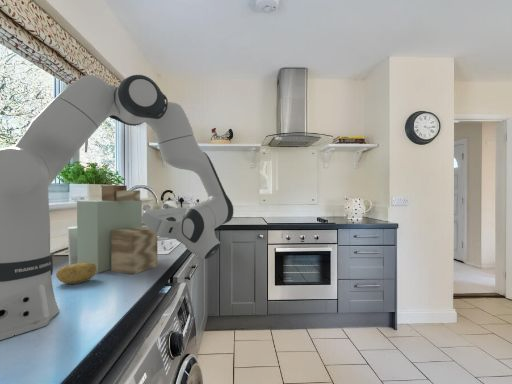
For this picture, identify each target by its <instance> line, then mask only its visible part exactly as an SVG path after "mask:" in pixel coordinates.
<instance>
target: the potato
mask: <svg viewBox="0 0 512 384" xmlns="http://www.w3.org/2000/svg"><path fill="white" fill-rule="evenodd" d="M96 274H97V273H96V266H95V264H93V263H76V264H72V265H69V264H68V265H64V266H62V267H61V268H59V269H58V270H57V271H56V278H57V279H58V280H59V281H60V282H61V283H63V284H69V285H70V284H71V285H72V284H79V283H82V282H86V281H89V280H91V279H92V278H93V277H94V276H95V275H96Z"/></svg>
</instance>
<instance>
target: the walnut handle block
mask: <svg viewBox="0 0 512 384" xmlns="http://www.w3.org/2000/svg"><path fill="white" fill-rule="evenodd" d="M127 188H128V186H127V185H101V200H102V201H140V200H141V190H139V189H138V190H135V189H134V190H133V189H131V190H130V189H129V190H128V189H127Z"/></svg>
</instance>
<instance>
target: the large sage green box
mask: <svg viewBox="0 0 512 384" xmlns="http://www.w3.org/2000/svg"><path fill="white" fill-rule="evenodd" d="M142 202H143V201H142V199H140V201H102V199H101V200H78V201H76V226H77V263H93V264H95V266H96V274H99V273H104V272H106V271H110V270H111V231H112V230H120V229H127V228H134V227H143V226H142V225H143V224H142V223H143V222H142V221H141V217H142V215H143V213H142V211H143V207H142V206H143V205H142Z"/></svg>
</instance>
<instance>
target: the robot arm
mask: <svg viewBox="0 0 512 384" xmlns="http://www.w3.org/2000/svg"><path fill="white" fill-rule="evenodd" d="M108 118H111V119H112V120H115V121H117V122H120V123H122V124H123V125H127V126H139V125H142V124H143V123H145V124H147V126H149V127H150V129H152V131H153V134H154V136H155V139H156V142H157V145H158V148H159V151H160V154H161V157H162V159H163V160H164V162H165V163H166V164H168V165H169V166H171V167H172V168H176V169H179V170H186V171H191V172H193V173H195V174H196V175H197V176H198V177H199V178H200V181H201V183H202V185H203V187H204V189H205V192H206V194H207V199H206V200H205V201H202V202H200V203H197V204H195V205H193V206H191V207H189V208H186V207H175V206H173V205H170V204H168V203H163V205H162V208H161V209H160V208H159V209H151V206H150V205H148V204H144V205H142V206H143V207H142V211H143V213H142V217H141V221H142V223H143V225H145V226H146V228H150V229H151V230H152V231H154V232H157V237H159V238H161V239H172V240H176V241H177V242H179V243H181V244H183V245H184V247H185V248H186V249H187V250H188V251H190V252H191V254H194V255H195V256H197V257H198V258H200V259H203V260H208V259H210V258H211V257H212V256H214V255H215V254H216V253H217V251H219V250H220V247H221V242H220V240H219V239H218V238H217V236H216V233H215V229H217V228H218V227H220V226H222V225H224V224H227V223H229V222H231V220H232V219H233V217H234V205H233V202H232V201H231V200H230V198H229V196H228V195H227V194H226V190H225V188H224V186H223V185H222V183H221V180H220V178H219V176H218V173H217V171H216V169H215V166H214V164H213V162H212V160H211V158H210V156H209V154H207V153H206V152H205V151H203V150H202V149H201V147H200V146H199V144H198V142H197V140H196V138H195V135H194V131H193V128H192V125H191V123H190V122H189V118H188V117H187V114H186V113H185V109H184V108H183V107H182V106H181V104H178V103H176V102H172V101H168V98H167V96H166V95H165V94H164V93H163V91H161V88H160V87H159V86H158V84H157V83H156V82H155V81H154V80H153V79H152V78H150V77H148V76H146V75H143V74H132V75H130V76H128V77H126V78H124V79H123V80H122V81H121V82H120V83H119V85H118V86H115V85H111V84H109V83H107V81H105V80H104V79H102V78H100V77H98V76H96V75H93V74H86V75H83V76H81V77H80V78H78V79H77V80H75V81H74V82H72V83H70V84H69V85H68V86H67V87H65V88H64V89H63V90H62V91H61V92H60V93H59V94H57V95H56V97H55V98H54V99H52V101H51V102H49V103H48V104H47V105H46V106H45V107H44V109H42V111H40V112H39V114H38V115H37V116H36V117H35V118H34V119H32V121H31V122H30V124H29V126H28V127H27V129H26V130H25V132H24V133H23V134H22V135H21V137H20V138H19V140H18V141H17V142H16V144H15V145H14V146H9V147H3V148H0V341H2V340H4V339H5V340H6V339H9V338H12V337H15V336H18V335H21V334H24V333H27V332H30V331H34V330H37V329H41V328H43V327H47V326H48V325H49V324H50V322H51V319H53V318H54V317H55V316H56V315H58V314H59V311H60V309H59V306H58V303H57V301H56V298H55V293H54V287H53V281H52V276H53V272H54V271H53V269H54V263H53V261H54V260H53V254H52V253H51V218H50V217H51V216H50V202H49V201H50V200H49V199H50V198H49V187H50V185H52V183H53V182H54V180H55V179H57V177H58V176H59V175H60V173H61V172H62V171H63V170H64V169H65V167H66V166H67V165H68V163H69V162H70V161H71V160H72V159H73V158H74V156H75V155H76V154H77V153H78V151H79V150H80V149H81V148H82V147H83V146H84V144H86V142H87V141H88V140H89V139H90V138H91V136H92V135H93V134H94V133H95V132H97V129H98V128H99V127H100V126H101V125H102V124H103V123H104V121H106V120H107V119H108ZM14 335H15V336H14Z"/></svg>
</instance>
